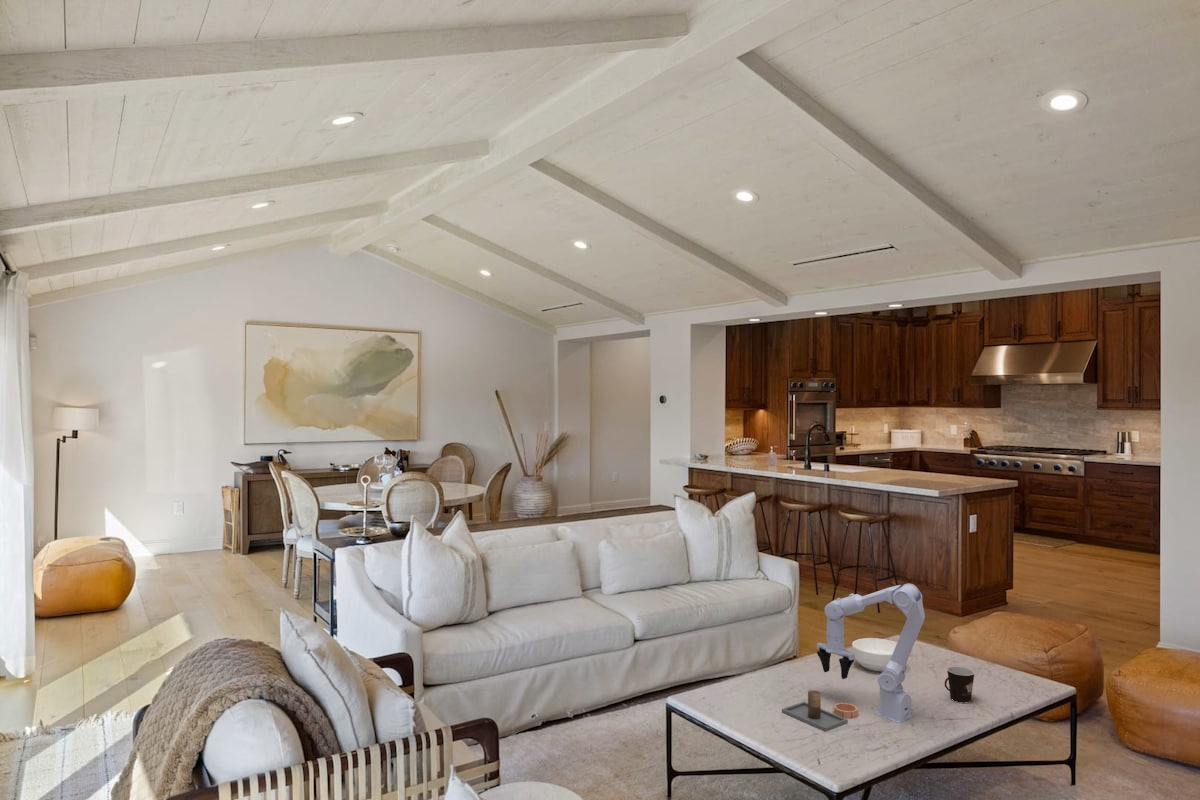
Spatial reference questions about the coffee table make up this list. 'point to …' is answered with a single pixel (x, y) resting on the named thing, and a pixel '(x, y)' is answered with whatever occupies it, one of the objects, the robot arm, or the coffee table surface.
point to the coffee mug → (960, 683)
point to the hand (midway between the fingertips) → (835, 674)
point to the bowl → (873, 652)
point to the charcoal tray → (824, 723)
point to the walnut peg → (814, 704)
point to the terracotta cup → (846, 710)
